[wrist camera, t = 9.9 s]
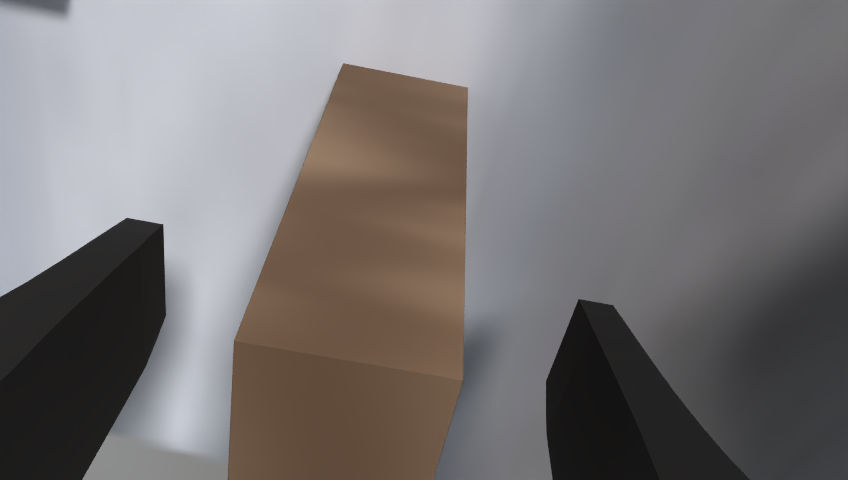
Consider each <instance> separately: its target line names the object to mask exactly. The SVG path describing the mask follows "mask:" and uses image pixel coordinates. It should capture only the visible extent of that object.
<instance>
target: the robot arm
mask: <svg viewBox="0 0 848 480" xmlns="http://www.w3.org/2000/svg"><path fill="white" fill-rule="evenodd" d="M165 316H166V306H165V270H164V234H163V224H157V223H152V222H146V221H141V220H135V219H130V218H126V219H125V220H123V221H121V222H120V223H118V224H117V225H115V226H114V227H112V228H110V229H109V230H107V231H106V232H104V233H103V234H101V235H100V236H98V237H97V238H95V239H94V240H92V241H90V242H89V243H87V244H86V245H84V246H83V247H81V248H80V249H78V250H77V251H75V252H74V253H72V254H71V255H69V256H67V257H66V258H64V259H63V260H61V261H60V262H58V263H57V264H55V265H53V266H52V267H50V268H49V269H47V270H45V271H44V272H42V273H41V274H39V275H37V276H36V277H34V278H33V279H31V280H29V281H28V282H26V283H24V284H23V285H21V286H19V287H17V288H15V289H14V290H12V291H10V292H8V293H7V294H5V295H3V296H1V297H0V480H82V479H83V477H84V475H85V473H86V471H87V470H88V468H89V466H90V465H91V463H92V461H93V459H94V458H95V456H96V453H97V452H98V450H99V449H100V447H101V445H102V443H103V442H104V440H105V438H106V436H107V435H108V433H109V431H110V429H111V428H112V426H113V424H114V422H115V420H116V419H117V417H118V415H119V413H120V412H121V410H122V408H123V406H124V405H125V403H126V401H127V399H128V397H129V396H130V394H131V392H132V390H133V388H134V387H135V385H136V383H137V381H138V379H139V378H140V376H141V374H142V372H143V370H144V368H145V367H146V364H147V362H148V359H149V357H150V355H151V352H152V350H153V347H154V345H155V342H156V340H157V337H158V335H159V332H160V329H161V327H162V324H163V322H164V319H165ZM546 428H547V440H548V448H549V455H550V463H551V470H552V477H553V480H749V478H748V477H747V476H746V475H745V474H744V473H743V472H742V471H741V470H740V469H739V468H738V467H737V466H736V465H735V464H734V463H733V462H732V461H731V460H730V459H729V457H728V456H727V455H726V454H725V453H724V452H723V451H722V450H721V449H720V447H719V446H718V445H717V444H716V443H715V442H714V440H713V439H712V438H711V437H710V436H709V434H708V433H707V432H706V431H705V430H704V428H703V427H702V426H701V425H700V424H699V422H698V421H697V420H696V419H695V418H694V416H693V415H692V414H691V413H690V411H689V410H688V409H687V408H686V406H685V405H684V404H683V402H682V401H681V400H680V399H679V397H678V396H677V395H676V393H675V392H674V391H673V389H672V388H671V387H670V385H669V384H668V383H667V381H666V380H665V379H664V377H663V376H662V374H661V373H660V372H659V370H658V369H657V368H656V366H655V365H654V363H653V362H652V361H651V359H650V358H649V356H648V355H647V353H646V352H645V351H644V349H643V348H642V346H641V345H640V343H639V342H638V341H637V339H636V338H635V336H634V335H633V333H632V332H631V330H630V329H629V327H628V326H627V325H626V323H625V322H624V320H623V319H622V317H621V316H620V315H619V313H618V312H617V310H616V309H615V308H614V306H613V305H608V304H603V303H597V302H591V301H586V300H580V299H579V300H578V302H577V305H576V307H575V310H574V312H573V315H572V317H571V320H570V323H569V325H568V328H567V330H566V333H565V335H564V338H563V340H562V343H561V345H560V348H559V350H558V353H557V355H556V358H555V360H554V363H553V365H552V368H551V370H550V373H549V375H548V378H547V380H546Z"/></svg>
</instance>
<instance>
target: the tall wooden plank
mask: <svg viewBox="0 0 848 480" xmlns="http://www.w3.org/2000/svg"><path fill="white" fill-rule="evenodd" d="M467 102H468V88H466V87H461V86H456V85H451V84H446V83H441V82H436V81H430V80H425V79H420V78H415V77H410V76H405V75H400V74H395V73H390V72H384V71H379V70H374V69H369V68H364V67H359V66H354V65H349V64H343V65H342V68H341V71H340V73H339V76H338V78H337V81H336V83H335V86H334V88H333V91H332V93H331V96H330V98H329V101H328V104H327V106H326V109H325V111H324V114H323V116H322V119H321V121H320V124H319V126H318V129H317V131H316V134H315V137H314V139H313V142H312V144H311V147H310V149H309V152H308V154H307V157H306V159H305V162H304V165H303V167H302V170H301V172H300V175H299V177H298V180H297V182H296V185H295V187H294V190H293V192H292V195H291V198H290V200H289V203H288V205H287V208H286V210H285V213H284V215H283V218H282V220H281V223H280V226H279V228H278V231H277V233H276V236H275V238H274V241H273V243H272V246H271V248H270V251H269V253H268V256H267V259H266V261H265V264H264V266H263V269H262V271H261V274H260V276H259V279H258V281H257V284H256V286H255V289H254V292H253V294H252V297H251V299H250V302H249V304H248V307H247V309H246V312H245V314H244V317H243V320H242V322H241V325H240V327H239V330H238V332H237V335H236V337H235V340H234V353H233V375H232V398H231V420H230V442H229V464H228V480H433V478H434V475H435V472H436V469H437V465H438V462H439V459H440V455H441V452H442V449H443V445H444V442H445V439H446V436H447V432H448V429H449V426H450V422H451V419H452V416H453V413H454V409H455V406H456V403H457V399H458V396H459V393H460V390H461V386H462V383H463V367H464V301H465V235H466V168H467Z"/></svg>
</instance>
